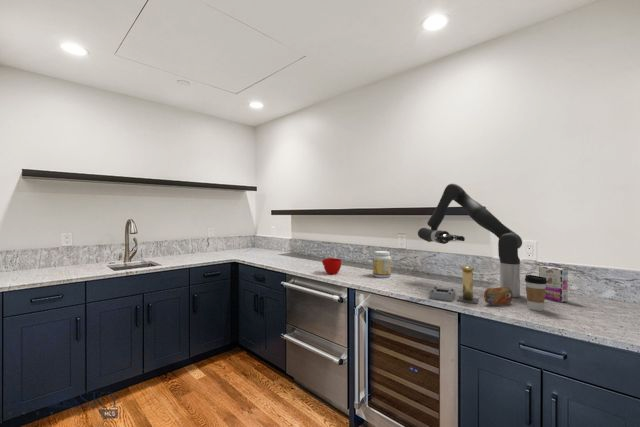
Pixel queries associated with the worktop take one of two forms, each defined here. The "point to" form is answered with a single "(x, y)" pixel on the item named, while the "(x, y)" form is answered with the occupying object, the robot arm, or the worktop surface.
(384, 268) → the supplement tub
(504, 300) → the tin
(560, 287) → the candy bar box
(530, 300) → the coffee cup
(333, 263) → the ceramic cup
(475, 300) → the pad
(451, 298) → the housing
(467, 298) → the pin
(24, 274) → the worktop surface
